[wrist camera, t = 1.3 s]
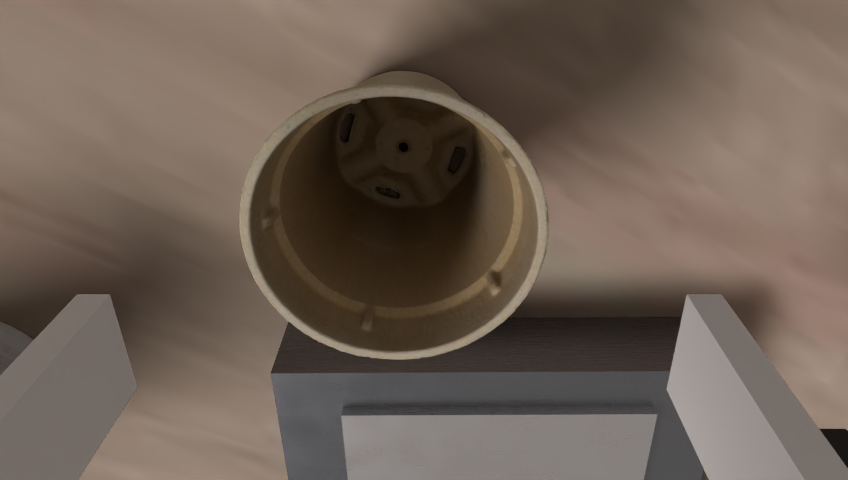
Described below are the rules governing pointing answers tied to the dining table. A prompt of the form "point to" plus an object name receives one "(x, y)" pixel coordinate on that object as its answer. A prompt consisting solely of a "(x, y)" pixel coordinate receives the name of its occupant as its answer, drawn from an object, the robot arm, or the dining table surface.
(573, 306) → the dining table surface
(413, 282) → the flower pot
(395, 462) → the gray square platform
